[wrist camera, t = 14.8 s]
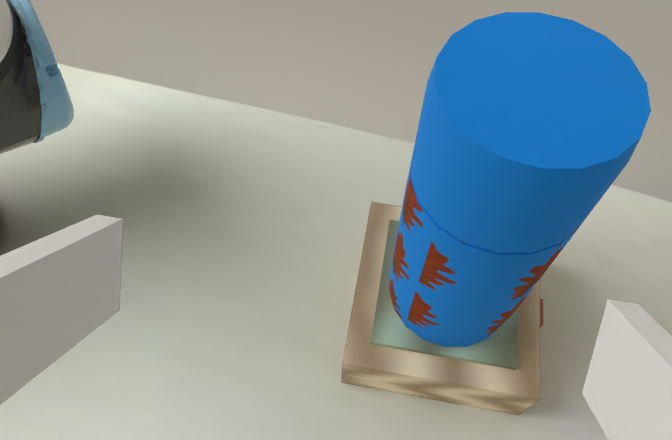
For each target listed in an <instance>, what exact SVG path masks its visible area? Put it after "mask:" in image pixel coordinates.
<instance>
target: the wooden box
mask: <svg viewBox="0 0 672 440" xmlns="http://www.w3.org/2000/svg"><path fill="white" fill-rule="evenodd" d="M401 210H402V207H401V206H395V205H388V204H382V203H375V202H371V206H370V212H369V218H368V223H367V229H366V234H365V240H364V246H363V251H362V257H361V263H360V268H359V274H358V279H357V285H356V291H355V296H354V302H353V308H352V313H351V319H350V324H349V330H348V336H347V341H346V347H345V353H344V358H343V365H342V382H343V383H348V384H353V385H359V386H364V387H370V388H375V389H381V390H386V391H391V392H397V393H402V394H408V395H413V396H418V397H424V398H429V399H435V400H440V401H445V402H451V403H456V404H462V405H467V406H473V407H478V408H483V409H489V410H494V411H500V412H505V413H510V414H516V415H519V414H521V413H522V412H523V411H525V410H526V409H527V408H529V407H530V406H531V405H533V404H534V403H535V402H537V401H538V400H539V399H540V328H541V326H542V325H543V299H540V279H539V281H538V282H537V283H536V285H535V286H534V287H533V289H532V290H531V291H530V293H529V294H528V295H527V296H526V298H525V299H524V300H523V302H522V303H521V304H520V306H519V307H518V308H517V310H516V311H515V312H514V313H513V314H512V315H511V316H510V317H509V318H508V319H507V320H506V321H505V322H504V323H503V324H502V325H501V326H500V327H499V328H498V329H497V330H496V331H495V332H494V333H493V334H492V335H491V336H489V337H488V338H487V339H486V340H484V341H481V342H478V343H476V344H473V345H470V346H468V347H443V346H440V345H438V344H435V343H432V342H429V341H426V340H423V339H422V338H421V337H419V336H418V335H417V334H415V333H414V332H413V331H411V330H410V329H409V328H407V327H406V326H405V324H404V323H403V321H402V320H401V319H400V317H399V316H398V314H397V313H396V311H395V310H394V307H393V303H392V299H391V295H390V291H389V285H390V272H391V264H392V257H393V250H394V245H395V240H396V235H397V230H398V225H399V220H400V215H401Z"/></svg>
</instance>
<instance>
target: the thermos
mask: <svg viewBox="0 0 672 440" xmlns="http://www.w3.org/2000/svg"><path fill="white" fill-rule="evenodd" d="M650 112H651V110H650V103H649V96H648V90H647V83H646V82H645V81H644V78H643V77H642V75H641V74H640V72H639V70H638V69H637V67H636V66H635V64H634V62H633V61H632V59H631V58H630V57H629V56H628V55H627V54H626V53H625V52H623V51H622V50H621V49H620V48H619V47H617V46H616V45H615V44H614V43H613V42H612V41H610V40H609V39H608V38H607V37H606V36H604V35H602V34H600V33H598V32H596V31H594V30H592V29H590V28H587V27H586V26H584V25H581V24H579V23H577V22H575V21H573V20H568V19H565V18H560V17H556V16H552V15H547V14H542V13H502V14H498V15H494V16H490V17H486V18H482V19H478V20H475V21H473V22H472V23H470V24H469V25H467V26H466V27H464V28H463V29H461V30H459V31H458V32H456V33H454V34H453V35H452V36H451V37H450V38H449V40H448V41H447V43H446V44H445V46H444V47H443V49H442V51H441V52H440V53H439V55H438V56H437V58H436V61H435V63H434V66H433V69H432V71H431V74H430V77H429V79H428V83H427V87H426V92H425V97H424V102H423V107H422V112H421V117H420V121H419V126H418V132H417V136H416V142H415V146H414V151H413V156H412V161H411V166H410V171H409V176H408V181H407V185H406V190H405V195H404V200H403V205H402V210H401V215H400V220H399V225H398V230H397V235H396V240H395V245H394V250H393V257H392V264H391V272H390V285H389V291H390V295H391V299H392V303H393V307H394V310H395V311H396V313H397V314H398V316H399V317H400V319H401V320H402V321H403V323H404V324H405V326H406V327H407V328H409V329H410V330H411V331H413V332H414V333H415V334H417V335H418V336H419V337H421V338H422V339H423V340H426V341H429V342H432V343H435V344H438V345H440V346H443V347H468V346H470V345H473V344H476V343H478V342H481V341H484V340H486V339H487V338H488V337H489V336H491V335H492V334H493V333H494V332H495V331H496V330H497V329H498V328H499V327H500V326H501V325H502V324H503V323H504V322H505V321H506V320H507V319H508V318H509V317H510V316H511V315H512V314H513V313H514V312H515V311H516V310H517V308H518V307H519V306H520V304H521V303H522V302H523V300H524V299H525V298H526V296H527V295H528V294H529V293H530V291H531V290H532V289H533V287H534V286H535V285H536V283H537V282H538V281H539V279H540V278H541V277H542V275H543V274H544V273H545V271H546V270H547V269H548V267H549V266H550V265H551V263H552V262H553V261H554V259H555V258H556V257H557V256H558V254H559V253H560V252H561V250H562V249H563V248H564V246H565V245H566V244H567V242H568V241H569V240H570V238H571V237H572V236H573V234H574V233H575V232H576V230H577V229H578V228H579V226H580V225H581V224H582V222H583V221H584V220H585V218H586V217H587V216H588V215H589V213H590V212H591V211H592V209H593V208H594V207H595V205H596V204H597V203H598V201H599V200H600V199H601V197H602V196H603V195H604V193H605V192H606V191H607V189H608V188H609V187H610V185H611V184H612V183H613V181H614V180H615V179H616V178H617V176H618V175H619V174H620V172H621V171H622V169H623V168H624V167H625V166H626V164H627V163H628V161H629V159H630V157H631V156H632V153H633V152H634V150H635V148H636V145H637V144H638V142H639V140H640V138H641V136H642V133H643V130H644V128H645V125H646V122H647V120H648V117H649V114H650Z"/></svg>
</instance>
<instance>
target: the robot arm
mask: <svg viewBox="0 0 672 440" xmlns="http://www.w3.org/2000/svg"><path fill="white" fill-rule="evenodd" d="M73 117H74V109H73V105H72V102H71V99H70V96H69V93H68V90H67V88H66V85H65V82H64V80H63V77H62V75H61V72H60V70H59V69H58V67H57V63H56V60H55V58H54V55H53V52H52V49H51V47H50V44H49V42H48V40H47V37H46V35H45V33H44V30H43V28H42V26H41V23H40V22H39V19H38V17H37V14H36V12H35V10H34V8H33V6H32V4H31V2H30V0H0V154H2V153H4V152H7V151H10V150H13V149H16V148H19V147H21V146H24V145H27V144H30V143H36V142H40V141H42V140H43V139H44V137H46V136H48V135H51V134H53V133H55V132H58V131H60V130H62V129H64V128H66V127H67V126H69V124H70V123H71V122H72V120H73ZM122 229H123V219H121V218H115V217H109V216H103V215H94V216H92V217H90V218H87V219H85V220H83V221H80V222H78V223H76V224H73V225H71V226H69V227H66V228H64V229H62V230H59V231H57V232H55V233H52V234H50V235H48V236H45V237H43V238H41V239H38V240H36V241H34V242H31V243H29V244H27V245H24V246H22V247H20V248H17V249H15V250H13V251H10V252H8V253H6V254H3V255H1V256H0V405H1V404H2V403H3V402H4V401H6V400H7V399H8V398H9V397H11V396H12V395H13V394H14V393H16V392H17V391H18V390H19V389H21V388H22V387H23V386H24V385H26V384H27V383H28V382H29V381H31V380H32V379H33V378H35V377H36V376H37V375H38V374H40V373H41V372H42V371H43V370H45V369H46V368H47V367H48V366H50V365H51V364H52V363H53V362H55V361H56V360H57V359H58V358H60V357H61V356H62V355H63V354H65V353H66V352H67V351H69V350H70V349H71V348H72V347H74V346H75V345H76V344H77V343H79V342H80V341H81V340H82V339H84V338H85V337H86V336H87V335H89V334H90V333H91V332H92V331H94V330H95V329H96V328H97V327H99V326H100V325H101V324H103V323H104V322H105V321H106V320H108V319H109V318H110V317H111V316H113V315H114V314H115V313H116V312H118V311H119V309H120V282H121V256H122ZM582 394H583V396H584V398H585V399H586V401H587V403H588V405H589V407H590V408H591V410H592V412H593V414H594V416H595V417H596V419H597V421H598V423H599V424H600V426H601V428H602V430H603V432H604V433H605V435H606V437H607V439H608V440H672V336H671V335H670V334H669V333H668V332H667V331H666V330H665V329H664V328H663V327H662V326H661V325H660V324H659V323H658V322H657V321H656V320H655V319H654V318H653V317H652V316H651V315H649V314H648V313H647V312H646V311H645V310H644V309H643V308H642V307H641V306H640V305H639V304H636V303H630V302H624V301H618V300H612V299H608V300H607V304H606V307H605V311H604V315H603V318H602V322H601V325H600V329H599V333H598V336H597V340H596V344H595V347H594V351H593V355H592V358H591V362H590V366H589V369H588V373H587V377H586V380H585V384H584V388H583V391H582Z"/></svg>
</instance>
